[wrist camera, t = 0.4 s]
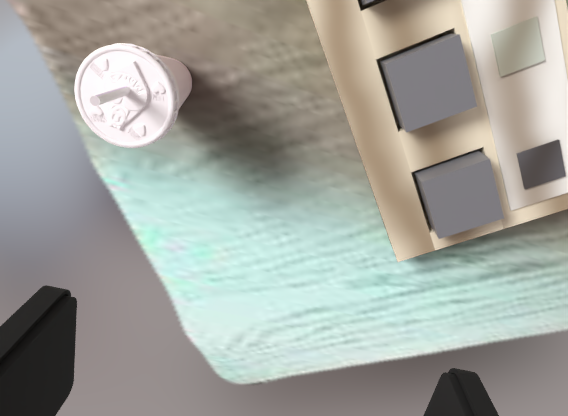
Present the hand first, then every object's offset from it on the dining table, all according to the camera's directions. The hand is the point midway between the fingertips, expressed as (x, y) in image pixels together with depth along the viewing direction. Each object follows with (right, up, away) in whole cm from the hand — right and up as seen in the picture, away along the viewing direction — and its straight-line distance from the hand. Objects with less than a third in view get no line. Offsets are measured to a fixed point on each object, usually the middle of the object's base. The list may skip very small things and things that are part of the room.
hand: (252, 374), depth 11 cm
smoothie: (-9, +15, +25) cm, 30 cm away
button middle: (+11, +14, +21) cm, 28 cm away
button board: (+13, +15, +24) cm, 31 cm away
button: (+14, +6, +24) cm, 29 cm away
